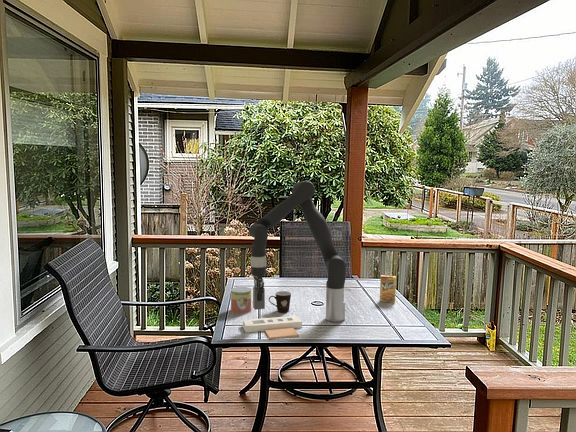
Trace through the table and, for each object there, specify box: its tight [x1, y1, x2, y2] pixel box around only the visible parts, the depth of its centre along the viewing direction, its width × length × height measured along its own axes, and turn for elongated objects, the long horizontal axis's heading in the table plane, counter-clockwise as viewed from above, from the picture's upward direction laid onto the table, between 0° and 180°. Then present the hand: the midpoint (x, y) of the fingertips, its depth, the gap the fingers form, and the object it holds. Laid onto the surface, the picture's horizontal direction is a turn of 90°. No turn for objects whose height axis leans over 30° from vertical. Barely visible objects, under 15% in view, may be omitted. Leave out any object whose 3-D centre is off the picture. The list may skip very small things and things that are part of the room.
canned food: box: [230, 286, 252, 315], centre depth 246 cm, size 11×11×12 cm
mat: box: [264, 327, 299, 340], centre depth 213 cm, size 14×10×1 cm
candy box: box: [379, 274, 397, 304], centre depth 265 cm, size 9×4×15 cm, turn 72°
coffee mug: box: [268, 290, 292, 314], centre depth 246 cm, size 12×9×10 cm
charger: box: [252, 286, 266, 311], centre depth 219 cm, size 5×4×10 cm
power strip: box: [242, 315, 303, 333], centre depth 222 cm, size 28×9×3 cm, turn 105°
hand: (258, 299), depth 219 cm, fingers closed on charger, 4 cm apart
